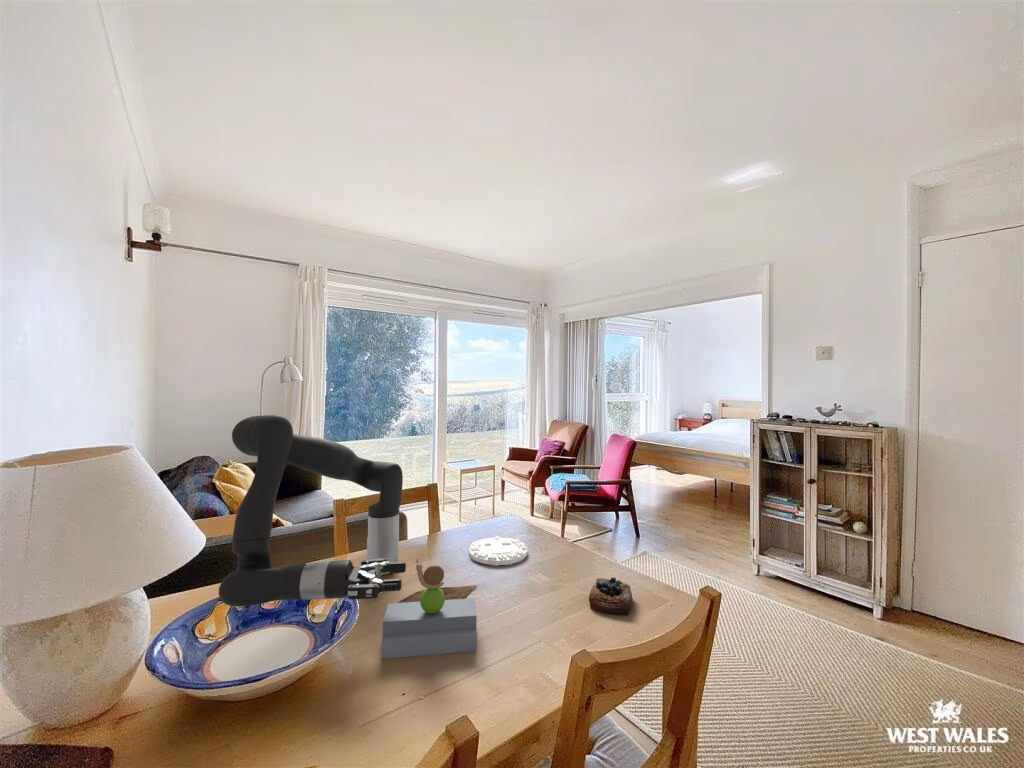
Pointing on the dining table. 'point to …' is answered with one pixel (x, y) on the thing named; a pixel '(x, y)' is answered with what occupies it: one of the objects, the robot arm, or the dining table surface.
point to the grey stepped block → (429, 629)
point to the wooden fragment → (448, 592)
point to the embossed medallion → (498, 551)
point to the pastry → (611, 597)
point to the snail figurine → (431, 588)
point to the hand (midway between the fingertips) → (403, 575)
